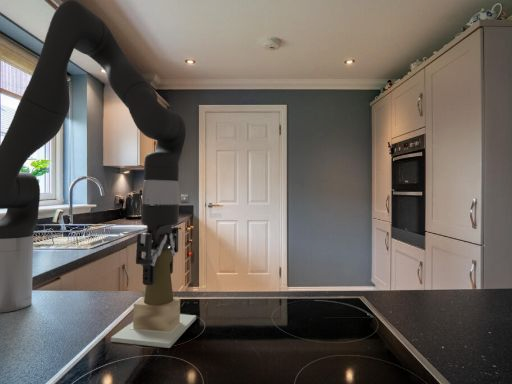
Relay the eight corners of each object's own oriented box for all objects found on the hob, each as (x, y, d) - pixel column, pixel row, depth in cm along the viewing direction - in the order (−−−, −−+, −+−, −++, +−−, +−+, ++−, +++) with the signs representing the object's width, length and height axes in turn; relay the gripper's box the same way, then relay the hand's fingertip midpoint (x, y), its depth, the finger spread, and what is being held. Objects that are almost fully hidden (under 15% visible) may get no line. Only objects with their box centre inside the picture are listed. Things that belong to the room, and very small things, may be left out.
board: (110, 341, 61) (110, 336, 61) (147, 314, 74) (147, 310, 74) (169, 348, 59) (169, 343, 59) (196, 319, 72) (196, 315, 72)
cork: (164, 306, 63) (165, 252, 64) (137, 303, 65) (139, 250, 65) (178, 297, 69) (179, 247, 69) (153, 294, 71) (154, 245, 71)
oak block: (133, 328, 64) (133, 303, 65) (144, 319, 69) (145, 296, 69) (170, 331, 63) (170, 306, 63) (179, 321, 68) (180, 298, 68)
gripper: (159, 201, 74) (157, 270, 74) (125, 202, 60) (122, 287, 60) (190, 202, 73) (188, 272, 73) (161, 203, 59) (159, 290, 59)
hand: (158, 278), depth 67 cm, fingers open, 8 cm apart
